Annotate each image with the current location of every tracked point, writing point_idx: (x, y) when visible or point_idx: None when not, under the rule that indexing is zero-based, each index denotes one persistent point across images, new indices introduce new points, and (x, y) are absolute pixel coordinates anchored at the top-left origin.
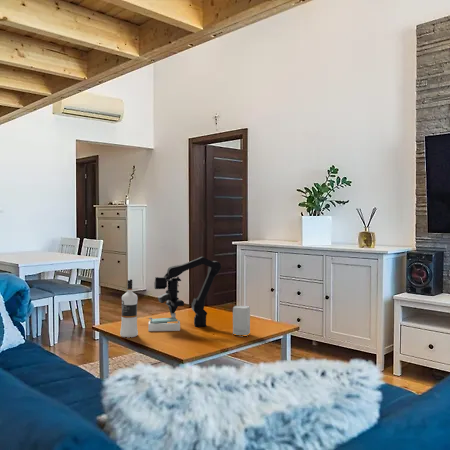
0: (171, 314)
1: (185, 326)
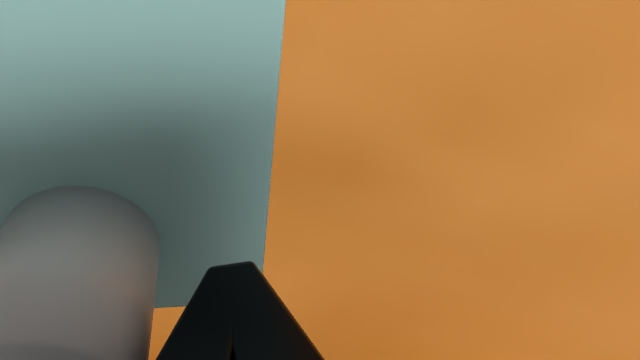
0: (23, 303)
1: (176, 320)
